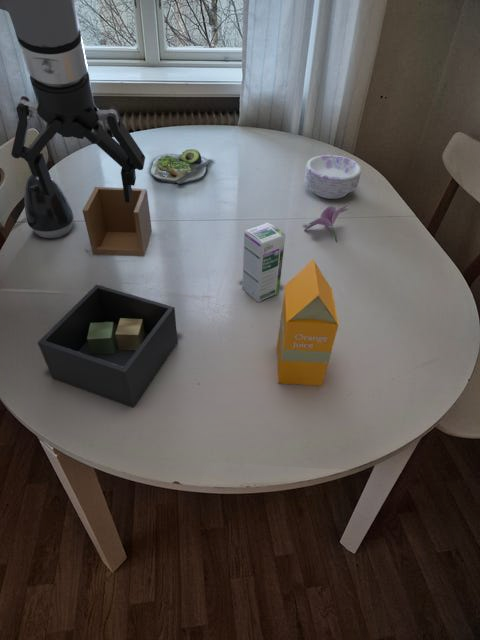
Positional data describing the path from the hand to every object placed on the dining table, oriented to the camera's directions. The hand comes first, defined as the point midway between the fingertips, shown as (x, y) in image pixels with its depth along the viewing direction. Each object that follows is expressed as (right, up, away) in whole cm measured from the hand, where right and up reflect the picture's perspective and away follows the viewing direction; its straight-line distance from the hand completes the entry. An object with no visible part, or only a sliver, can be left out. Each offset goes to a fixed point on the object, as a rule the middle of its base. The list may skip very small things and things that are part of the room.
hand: (89, 193), depth 75 cm
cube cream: (+7, -26, 0) cm, 27 cm away
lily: (+48, -1, +33) cm, 59 cm away
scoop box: (-1, -5, +26) cm, 27 cm away
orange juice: (+37, -30, +1) cm, 48 cm away
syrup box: (+31, -16, +16) cm, 38 cm away
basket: (+5, -29, +1) cm, 30 cm away
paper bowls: (+52, +15, +50) cm, 74 cm away
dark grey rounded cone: (-19, -1, +29) cm, 35 cm away
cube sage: (+2, -27, -1) cm, 27 cm away
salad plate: (+8, +23, +57) cm, 62 cm away
